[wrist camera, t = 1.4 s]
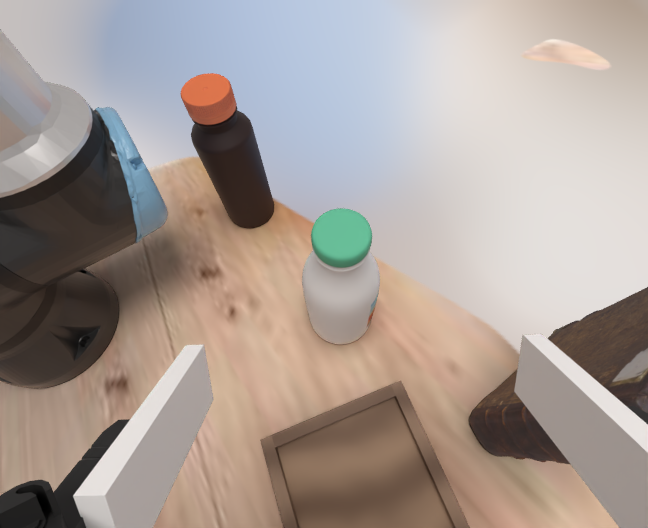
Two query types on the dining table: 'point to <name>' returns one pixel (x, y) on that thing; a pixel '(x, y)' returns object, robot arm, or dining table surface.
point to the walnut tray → (361, 469)
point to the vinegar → (228, 149)
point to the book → (592, 356)
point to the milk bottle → (341, 277)
